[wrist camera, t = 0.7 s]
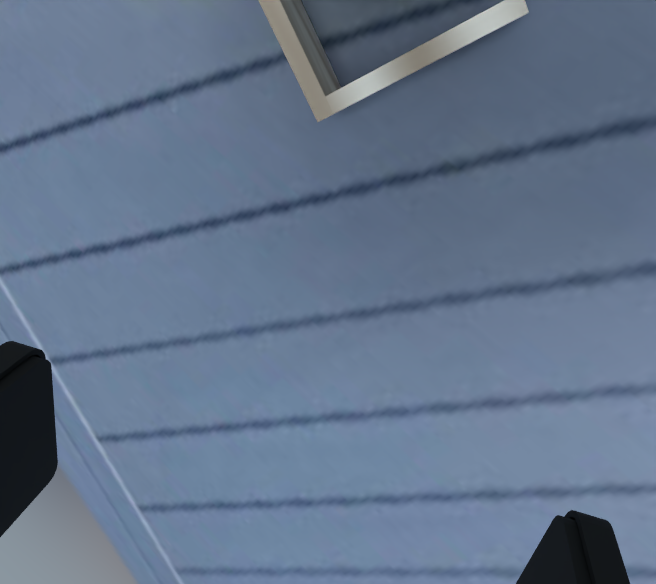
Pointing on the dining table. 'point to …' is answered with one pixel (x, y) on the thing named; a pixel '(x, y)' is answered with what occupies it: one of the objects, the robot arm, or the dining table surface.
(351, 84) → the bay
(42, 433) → the robot arm
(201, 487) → the dining table surface
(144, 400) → the dining table surface
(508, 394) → the dining table surface
